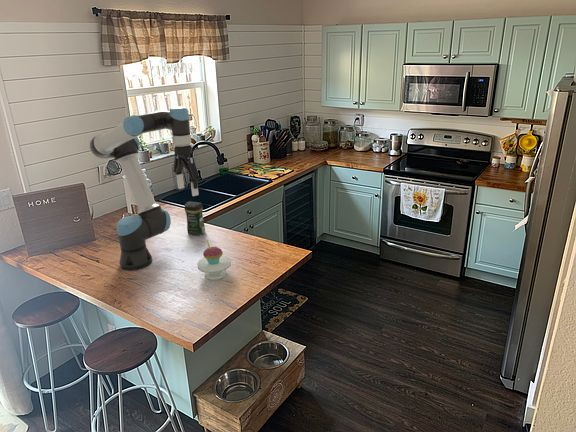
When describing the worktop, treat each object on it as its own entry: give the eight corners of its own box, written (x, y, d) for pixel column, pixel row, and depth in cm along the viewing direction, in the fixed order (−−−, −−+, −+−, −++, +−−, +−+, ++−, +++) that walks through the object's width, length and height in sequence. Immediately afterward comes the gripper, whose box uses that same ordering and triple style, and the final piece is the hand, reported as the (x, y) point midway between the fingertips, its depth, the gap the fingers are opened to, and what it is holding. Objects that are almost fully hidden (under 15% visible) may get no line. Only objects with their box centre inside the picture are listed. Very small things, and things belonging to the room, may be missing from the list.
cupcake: (205, 267, 194) (202, 243, 189) (203, 259, 201) (200, 235, 197) (224, 264, 196) (222, 240, 192) (221, 256, 204) (219, 233, 199)
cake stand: (209, 286, 191) (207, 273, 189) (193, 274, 202) (191, 261, 200) (238, 275, 200) (237, 262, 198) (221, 264, 211) (219, 251, 209)
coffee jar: (185, 234, 246) (181, 203, 239) (193, 229, 253) (189, 199, 246) (200, 236, 242) (196, 205, 236) (207, 231, 249) (204, 200, 242)
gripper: (204, 147, 179) (209, 196, 187) (177, 138, 197) (183, 183, 205) (188, 150, 175) (193, 200, 183) (161, 141, 193) (168, 187, 201)
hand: (188, 191), depth 194 cm, fingers open, 13 cm apart
